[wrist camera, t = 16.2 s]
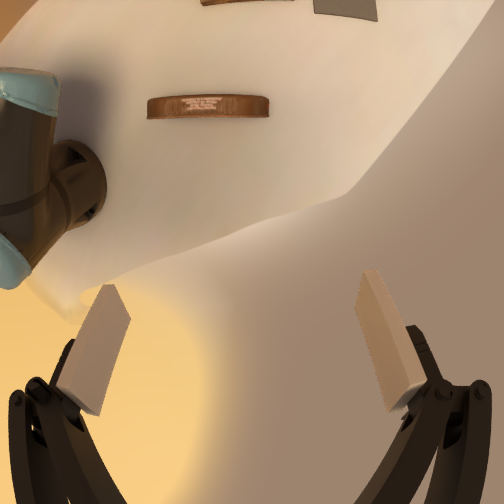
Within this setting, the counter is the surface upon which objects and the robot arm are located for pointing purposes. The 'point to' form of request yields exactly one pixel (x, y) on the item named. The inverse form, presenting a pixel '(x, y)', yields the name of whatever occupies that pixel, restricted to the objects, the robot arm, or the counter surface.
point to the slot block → (222, 1)
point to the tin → (208, 106)
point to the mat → (347, 8)
